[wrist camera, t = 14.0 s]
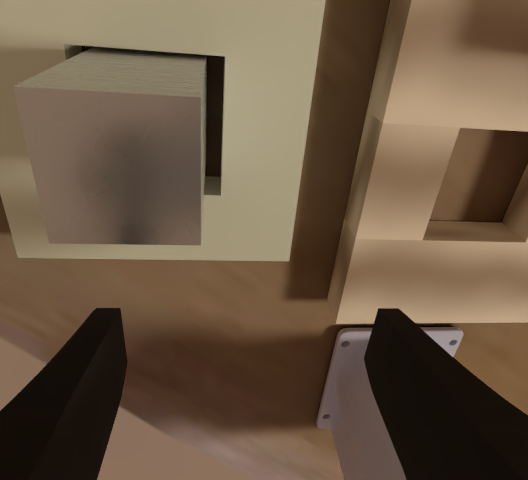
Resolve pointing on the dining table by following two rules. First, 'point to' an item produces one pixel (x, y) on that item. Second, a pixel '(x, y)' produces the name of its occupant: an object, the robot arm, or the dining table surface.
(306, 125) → the cream square hole plate
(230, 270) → the dining table surface
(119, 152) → the peg
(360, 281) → the socket block
